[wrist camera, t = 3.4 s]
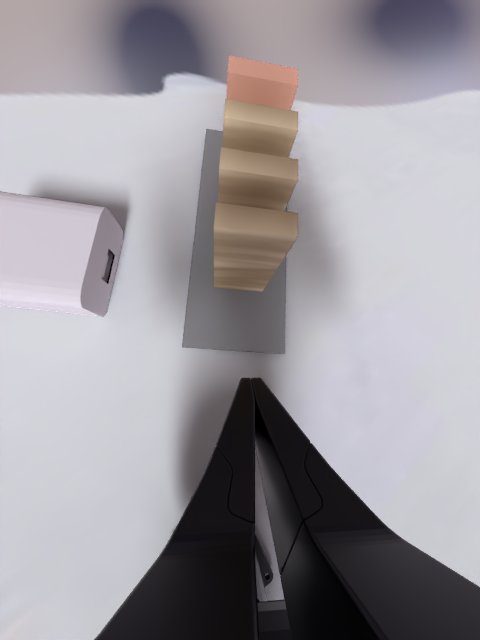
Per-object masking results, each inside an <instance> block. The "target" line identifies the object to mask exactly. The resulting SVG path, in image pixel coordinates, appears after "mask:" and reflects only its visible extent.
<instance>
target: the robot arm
mask: <svg viewBox="0 0 480 640" xmlns="http://www.w3.org/2000/svg"><path fill="white" fill-rule="evenodd" d="M255 448H256V453H257V458H258V463H259V468H260V474H261V479H262V484H263V489H264V494H265V500H266V505H267V510H268V515H269V520H270V526H271V531H272V536H273V541H274V546H275V552H276V557H277V562H278V567H279V572H280V575H281V577H280V578H281V583H282V588H283V594H284V599H285V600H275V601H267V598H266V594H265V589H264V587H265V586H266V585H268V584H269V583H270V582H271V581H272V579H273V573H272V569H271V566H270V564H269V562H268V560H267V558H266V555H265V553H264V551H263V549H262V546H261V544H260V542H259V540H258V538H257V535H256V533H255ZM267 572H268V573H269V574H268V575H266V576H265V575H264V574H265V573H267ZM94 640H480V587H479V586H477V585H476V584H474V583H473V582H471V581H469V580H468V579H466V578H465V577H463V576H461V575H460V574H458V573H457V572H455V571H453V570H452V569H450V568H448V567H447V566H445V565H444V564H442V563H440V562H439V561H437V560H436V559H434V558H432V557H431V556H429V555H428V554H426V553H424V552H423V551H421V550H419V549H418V548H416V547H415V546H413V545H411V544H410V543H408V542H407V541H405V540H404V539H402V538H401V537H400V536H398V535H397V534H396V533H394V532H393V531H392V530H391V529H390V528H388V527H387V526H386V525H385V524H384V523H383V522H382V521H381V520H380V519H379V518H378V517H377V516H376V515H375V514H374V513H373V512H372V511H371V510H370V508H369V507H368V506H367V505H366V504H365V503H364V502H363V501H362V500H361V499H360V498H359V497H358V496H357V495H356V494H355V492H354V491H353V490H352V489H351V488H350V487H349V486H348V485H347V484H346V483H345V482H344V481H343V480H342V479H341V477H340V476H339V475H338V474H337V473H336V472H335V471H334V470H333V469H332V468H331V466H330V465H329V464H328V463H327V462H326V460H325V459H324V458H323V457H322V456H321V454H320V453H319V452H318V451H317V449H316V448H315V447H314V445H313V444H312V443H310V440H309V439H308V438H307V437H306V435H305V434H304V433H303V431H302V430H301V429H300V428H299V426H298V425H297V424H296V422H295V421H294V420H293V419H292V417H291V416H290V415H289V413H288V412H287V411H286V410H285V408H284V407H283V406H282V405H281V403H280V402H279V401H278V399H277V398H276V397H275V396H274V394H273V393H272V392H271V390H270V389H269V388H268V387H267V385H266V384H265V383H264V381H263V380H262V379H261V378H251V379H250V378H241V380H240V383H239V385H238V388H237V390H236V393H235V396H234V398H233V401H232V404H231V406H230V409H229V412H228V414H227V417H226V419H225V422H224V425H223V427H222V430H221V433H220V435H219V438H218V441H217V443H216V447H215V448H214V451H213V453H212V456H211V458H210V461H209V463H208V466H207V468H206V470H205V473H204V475H203V477H202V479H201V481H200V483H199V485H198V487H197V489H196V491H195V493H194V495H193V497H192V498H191V500H190V502H189V504H188V506H187V508H186V510H185V512H184V514H183V516H182V517H181V519H180V521H179V523H178V525H177V527H176V529H175V531H174V532H173V534H172V536H171V538H170V540H169V541H168V543H167V545H166V546H165V548H164V549H163V551H162V553H161V554H160V556H159V557H158V558H157V560H156V561H155V562H154V564H153V565H152V566H151V568H150V569H149V570H148V571H147V573H146V574H145V575H144V577H143V578H142V579H141V580H140V582H139V583H138V584H137V586H136V587H135V588H134V590H133V591H132V592H131V593H130V595H129V596H128V597H127V599H126V600H125V601H124V603H123V604H122V605H121V606H120V608H119V609H118V610H117V612H116V613H115V614H114V616H113V617H112V618H111V619H110V621H109V622H108V623H107V625H106V626H105V627H104V628H103V630H102V631H101V632H100V634H99V635H98V636H97V637H96V638H95V639H94Z"/></svg>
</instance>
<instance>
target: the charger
mask: <svg viewBox="0 0 480 640" xmlns="http://www.w3.org/2000/svg"><path fill="white" fill-rule="evenodd" d="M122 243H123V230H122V228H121V227H120V225H119V224H118V222H117V221H116V219H115V218H114V216H113V215H112V213H111V212H110V210H109V209H108V208H107V207H101V206H94V205H87V204H81V203H74V202H67V201H61V200H54V199H47V198H41V197H34V196H27V195H21V194H14V193H7V192H1V191H0V306H6V307H15V308H25V309H34V310H44V311H53V312H63V313H72V314H82V315H91V316H101V317H103V316H105V314H106V313H107V309H108V305H109V301H110V296H111V292H112V287H113V283H114V279H115V274H116V270H117V265H118V261H119V256H120V252H121V247H122ZM113 254H114V255H115V257H114V262H113V266H112V270H111V275H110V279H109V283H108V284H107V279H108V275H109V270H110V266H111V262H112V258H113Z"/></svg>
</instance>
